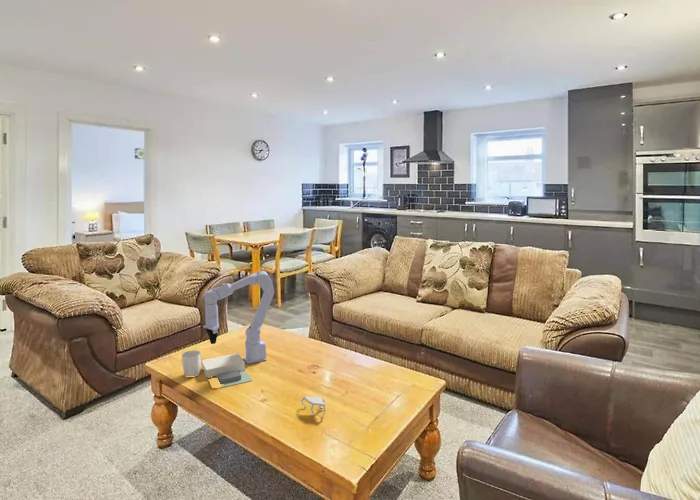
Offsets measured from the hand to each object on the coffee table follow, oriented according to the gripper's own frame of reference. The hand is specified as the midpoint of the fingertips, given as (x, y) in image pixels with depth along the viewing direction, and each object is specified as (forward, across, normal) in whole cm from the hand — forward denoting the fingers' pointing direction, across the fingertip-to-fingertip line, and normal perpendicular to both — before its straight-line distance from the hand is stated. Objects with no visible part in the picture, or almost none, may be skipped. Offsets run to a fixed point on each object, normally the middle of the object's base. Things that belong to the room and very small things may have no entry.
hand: (213, 343), depth 199 cm
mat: (+10, +20, +2) cm, 23 cm away
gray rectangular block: (+8, +20, +2) cm, 22 cm away
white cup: (+11, +7, -11) cm, 17 cm away
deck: (+10, +8, +2) cm, 13 cm away
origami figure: (+11, +62, +25) cm, 67 cm away
